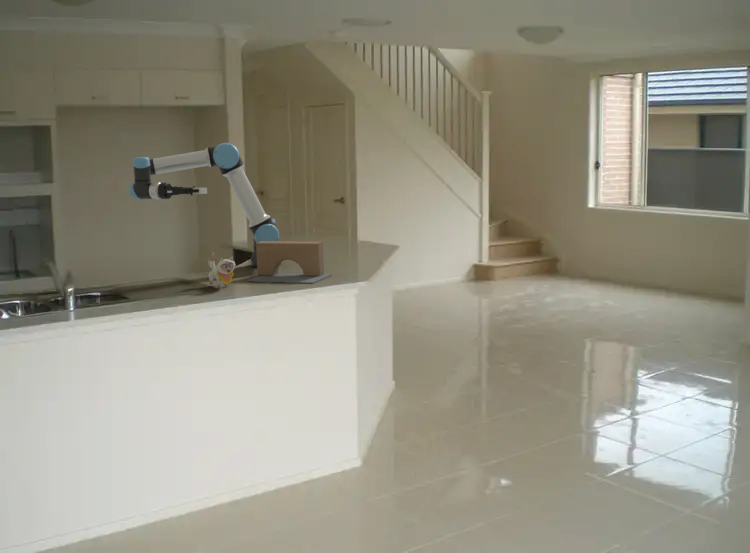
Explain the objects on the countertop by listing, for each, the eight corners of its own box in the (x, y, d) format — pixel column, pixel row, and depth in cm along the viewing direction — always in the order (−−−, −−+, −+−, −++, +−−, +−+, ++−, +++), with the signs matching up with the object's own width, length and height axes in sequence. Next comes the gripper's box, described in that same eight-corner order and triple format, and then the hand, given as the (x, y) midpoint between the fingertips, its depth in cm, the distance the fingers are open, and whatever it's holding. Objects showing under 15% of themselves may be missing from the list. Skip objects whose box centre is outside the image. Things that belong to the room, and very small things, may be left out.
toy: (220, 290, 376) (218, 255, 374) (200, 285, 392) (198, 251, 389) (239, 288, 382) (237, 253, 379) (219, 282, 397) (217, 249, 394)
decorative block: (255, 243, 408) (318, 243, 401) (261, 241, 415) (323, 241, 408) (257, 275, 410) (319, 276, 403) (262, 272, 417) (324, 273, 410)
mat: (268, 273, 418) (268, 272, 418) (331, 275, 408) (331, 274, 408) (246, 281, 398) (246, 280, 398) (313, 283, 387) (312, 282, 387)
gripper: (169, 197, 420) (213, 197, 413) (154, 200, 408) (199, 200, 400) (168, 181, 419) (212, 181, 411) (152, 183, 407) (198, 183, 399)
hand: (206, 190), depth 406 cm, fingers closed
